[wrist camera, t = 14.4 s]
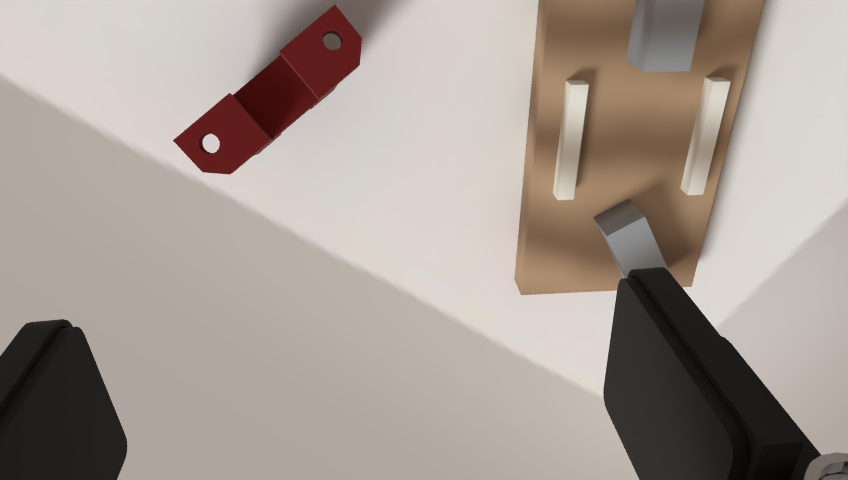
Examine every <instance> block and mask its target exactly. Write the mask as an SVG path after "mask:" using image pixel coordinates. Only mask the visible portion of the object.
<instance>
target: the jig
mask: <svg viewBox="0 0 848 480" xmlns="http://www.w3.org/2000/svg"><path fill="white" fill-rule="evenodd" d="M763 3H764V0H539V7H538V18H537V30H536V41H535V52H534V64H533V75H532V87H531V98H530V110H529V121H528V133H527V144H526V155H525V167H524V178H523V190H522V201H521V213H520V224H519V235H518V247H517V258H516V270H515V281H516V284H517V286H518V289H519V291H520V293H521V295H533V294H553V293H573V292H593V291H612V290H617V289H618V283H619V281H620V279H622V278H627V277H628V274H629V272H630V271H631V270H633V269H643V268H655V267H665V268H666V269H667V270H668V271H669V272H670V273H671V274H672V276H673V277H674V278H675V279H676V281H677V282H678V283H679V284H680V286H681V287H692V283H693V279H694V275H695V271H696V267H697V263H698V259H699V255H700V251H701V247H702V243H703V239H704V235H705V231H706V227H707V224H708V220H709V216H710V212H711V208H712V204H713V200H714V196H715V192H716V188H717V184H718V180H719V176H720V172H721V168H722V164H723V160H724V156H725V152H726V149H727V145H728V141H729V137H730V133H731V129H732V125H733V121H734V117H735V113H736V109H737V105H738V101H739V97H740V93H741V89H742V85H743V81H744V78H745V74H746V70H747V66H748V62H749V58H750V54H751V50H752V46H753V42H754V38H755V34H756V30H757V26H758V22H759V18H760V14H761V10H762V7H763Z"/></svg>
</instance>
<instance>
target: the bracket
mask: <svg viewBox="0 0 848 480" xmlns="http://www.w3.org/2000/svg"><path fill="white" fill-rule="evenodd" d="M329 33H333V34H336V35H337V36H338V37H339V38H340V40H341V47H340V48H339V49H337V50H329V49H327V48H326V47H325V46H324V44H323V41H322V39H323V37H324V36H325V35H326V34H329ZM361 39H362V38H361V37H360V35H359V34H358V33H357V32H356V30H355V29H354V28H353V27H352V25H351V24H350V23H349V22H348V20H347V19H346V18H345V17H344V15H343V14H342V13H341V12H340V10H339V9H338V8H337V7H336V5H334V6H333V7H332V8H330V9H329V10H328V11H327V12H326V13H324V14H323V15H322V16H321V17H320V18H318V19H317V20H316V21H315V22H314V23H312V24H311V25H310V26H309V27H308V28H306V29H305V30H304V31H303V32H302V33H301V34H299V35H298V36H297V37H296V38H295V39H293V40H292V41H291V42H290V43H289V44H287V45H286V46H285V47H284V48H283V49H281V50H280V56H279V57H278V58H277V59H275V60H274V61H273V62H272V63H271V64H269V65H268V66H267V67H266V68H265V69H264V70H262V71H261V72H260V73H259V74H258V75H256V76H255V77H254V78H253V79H252V80H250V81H249V82H248V83H247V84H246V85H244V86H243V87H242V88H241V89H240V90H238V91H237V92H236V93H235V94H234V95H232V94H230V93H229V94H228V95H227V96H225V97H224V98H223V99H222V100H221V101H219V102H218V103H217V104H216V105H215V106H213V107H212V108H211V109H210V110H209V111H208V112H206V113H205V114H204V115H203V116H202V117H200V118H199V119H198V120H197V121H196V122H194V123H193V124H192V125H191V126H190V127H188V128H187V129H186V130H185V131H184V132H182V133H181V134H180V135H179V136H178V137H177V138H175V139H174V140H173V141H174V142H175V143H176V144H177V145H178V146H179V147H180V148H181V150H182V151H183V152H184V153H185V154H186V155H187V156H188V157H189V158H190V159H191V160H192V161H193V162H194V163H195V165H196V166H197V167H198V168H199V169H200V170H201V171H202V172H207V173H219V174H231V173H233V172H234V171H235V170H237V169H238V168H239V167H240V166H241V165H243V164H244V163H245V162H246V161H247V160H248V159H250V158H251V157H252V156H254V155H256V154H259V153H260V152H261V151H262V150H263V149H265V148H266V147H267V146H268V145H269V144H270V143H272V142H273V141H274V140H275V139H276V138H278V137H279V136H280V135H281V133H282V132H283V131H284V130H285V129H286V128H287V127H289V126H290V125H291V124H292V123H293V122H295V121H296V120H297V119H298V118H299V117H300V116H302V115H303V114H304V113H305V112H306V111H308V110H309V109H312V108H313V107H314V106H315V105H317V104H318V103H319V102H320V101H321V100H322V99H324V98H325V97H326V96H327V95H328V94H330V93H331V92H332V91H333V90H334V89H335V87H336V86H337V84H338V83H339V82H341V81H342V80H343V79H344V78H345V77H347V76H348V75H349V74H350V73H351V72H352V71H354V70H355V69H356V68H357V67H358V66H359V65H360V53H361ZM208 134H214V135H215V136H216V137H218V139H219V141H220V147H219V149H218V150H217V152H215V153H209V152H207V151H206V150H205V149H204V147H203V144H202V142H203V138H204V137H205V136H206V135H208Z"/></svg>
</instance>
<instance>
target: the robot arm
mask: <svg viewBox="0 0 848 480" xmlns="http://www.w3.org/2000/svg"><path fill="white" fill-rule="evenodd" d="M603 393H604V402H605V406H606V409H607V411H608V414H609V416H610V418H611V420H612V422H613V424H614V426H615V429H616V430H617V433H618V435H619V437H620V439H621V441H622V443H623V445H624V448H625V450H626V452H627V454H628V456H629V458H630V460H631V462H632V465H633V467H634V469H635V471H636V473H637V475H638V477H639V479H640V480H848V453H831V454H825V455H821V454H820V453H819V452H818V451H817V449H816V448H815V447H814V446H813V444H812V443H811V442H810V441H809V439H808V438H807V437H806V436H805V435H804V433H803V432H802V431H801V430H800V428H799V427H798V426H797V425H796V423H795V422H794V421H793V420H792V418H791V417H790V416H789V415H788V413H787V412H786V411H785V410H784V408H783V407H782V406H781V405H780V404H779V402H778V401H777V400H776V399H775V397H774V396H773V395H772V394H771V392H770V391H769V390H768V389H767V387H765V385H764V384H763V383H762V381H761V380H760V379H759V378H758V376H757V375H756V374H755V373H754V371H753V370H752V369H751V368H750V366H749V365H748V364H747V363H746V362H745V360H744V359H743V358H742V357H741V355H740V354H739V353H738V352H737V350H736V349H735V348H734V347H733V345H732V344H731V343H730V342H729V341H728V340H727V339H726V338H724V337H722V336H720V335H719V333H718V332H717V331H716V330H715V328H714V327H713V326H712V325H711V323H710V322H709V321H708V320H707V318H706V317H705V316H704V315H703V313H702V312H701V311H700V310H699V308H698V307H697V306H696V305H695V303H694V302H693V301H692V300H691V298H690V297H689V296H688V295H687V293H686V292H685V291H684V289H683V288H682V287H681V286H680V284H679V283H678V282H677V281H676V279H675V278H674V277H673V276H672V274H671V273H670V272H669V271H668V270H667V269H666V268H665V267H655V268H643V269H633V270H631V271H630V272H629V274H628V277H627V278H622V279H620V281H619V283H618V289H617V296H616V303H615V310H614V317H613V325H612V332H611V339H610V346H609V354H608V361H607V368H606V375H605V383H604V392H603ZM126 453H127V439H126V436H125V433H124V431H123V428H122V426H121V423H120V421H119V419H118V416H117V414H116V411H115V409H114V406H113V404H112V401H111V399H110V396H109V394H108V391H107V389H106V386H105V384H104V382H103V379H102V377H101V374H100V372H99V370H98V367H97V364H96V362H95V360H94V357H93V355H92V352H91V350H90V347H89V345H88V342H87V340H86V337H85V335H84V333H83V331H82V330H81V329H80V328H79V327H73V326H72V324H71V323H70V322H69V321H67V320H64V319H62V320H51V321H39V322H30V323H27V324H25V325H24V326H23V327H22V329H21V330H20V331H19V332H18V334H17V335H16V336H15V338H14V339H13V340H12V342H11V343H10V344H9V346H8V347H7V348H6V350H5V351H4V352H3V354H2V355H1V356H0V480H117V478H118V475H119V473H120V471H121V468H122V466H123V463H124V461H125V458H126Z"/></svg>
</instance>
